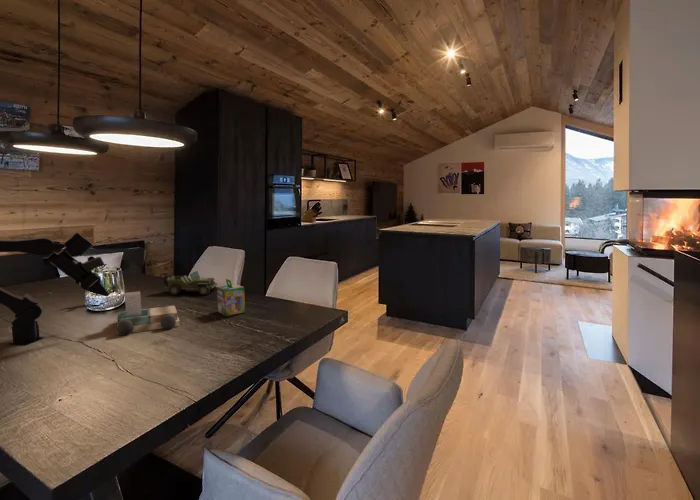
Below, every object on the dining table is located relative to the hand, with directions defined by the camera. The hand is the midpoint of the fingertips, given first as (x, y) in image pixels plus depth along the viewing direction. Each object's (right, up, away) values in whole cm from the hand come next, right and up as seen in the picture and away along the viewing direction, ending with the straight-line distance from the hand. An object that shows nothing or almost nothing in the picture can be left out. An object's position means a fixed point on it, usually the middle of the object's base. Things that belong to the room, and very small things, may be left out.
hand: (105, 293), depth 139 cm
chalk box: (+40, -11, +24) cm, 47 cm away
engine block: (+9, -11, +3) cm, 14 cm away
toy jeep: (+8, -6, +57) cm, 58 cm away
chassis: (+13, -13, +6) cm, 19 cm away
